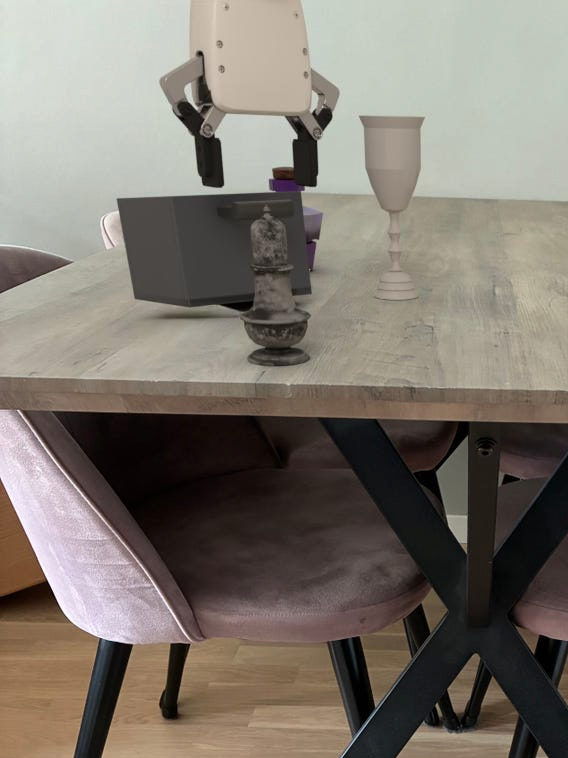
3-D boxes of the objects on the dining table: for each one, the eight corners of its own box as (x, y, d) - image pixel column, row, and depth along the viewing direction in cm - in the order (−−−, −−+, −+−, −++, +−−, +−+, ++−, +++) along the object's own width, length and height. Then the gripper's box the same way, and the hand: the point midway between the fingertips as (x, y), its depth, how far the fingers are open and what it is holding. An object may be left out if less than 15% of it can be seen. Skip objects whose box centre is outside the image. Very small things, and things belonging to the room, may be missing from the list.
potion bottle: (329, 265, 128) (323, 165, 122) (323, 275, 120) (317, 169, 115) (264, 264, 128) (255, 164, 122) (254, 274, 120) (244, 168, 114)
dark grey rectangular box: (338, 297, 98) (328, 190, 94) (213, 311, 90) (196, 195, 86) (250, 287, 112) (237, 193, 107) (134, 299, 104) (116, 198, 100)
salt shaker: (312, 349, 84) (303, 201, 79) (314, 365, 79) (304, 208, 74) (245, 351, 84) (230, 201, 78) (242, 367, 79) (226, 208, 73)
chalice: (353, 294, 109) (344, 115, 100) (399, 288, 113) (395, 115, 104) (392, 303, 104) (387, 116, 96) (439, 297, 109) (439, 117, 100)
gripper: (311, -20, 89) (319, 183, 97) (129, -45, 79) (155, 184, 87) (355, -26, 84) (360, 188, 92) (168, -54, 74) (192, 190, 82)
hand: (260, 186), depth 89 cm, fingers open, 9 cm apart
